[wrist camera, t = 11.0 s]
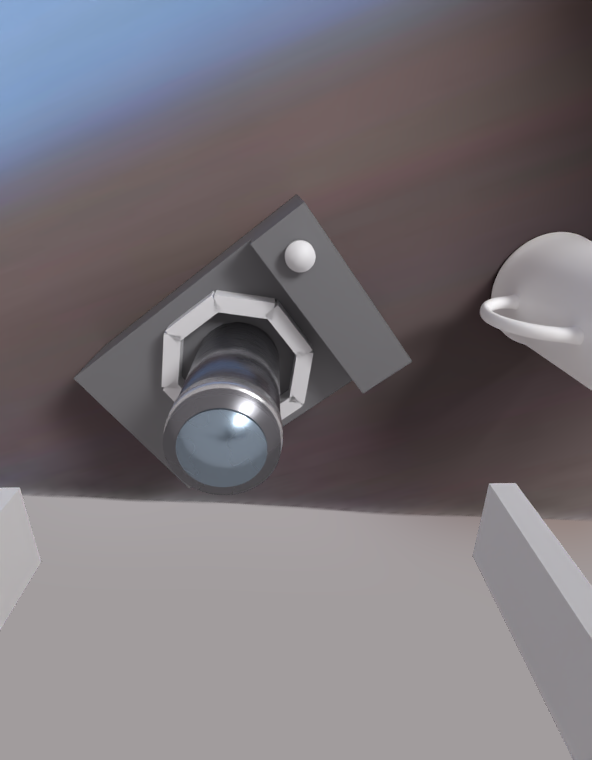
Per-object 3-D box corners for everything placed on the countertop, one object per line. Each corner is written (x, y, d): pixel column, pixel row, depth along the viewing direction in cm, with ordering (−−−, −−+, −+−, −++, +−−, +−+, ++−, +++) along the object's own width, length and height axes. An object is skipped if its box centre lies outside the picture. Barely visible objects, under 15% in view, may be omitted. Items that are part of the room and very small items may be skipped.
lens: (188, 325, 29) (146, 402, 19) (275, 316, 28) (275, 388, 19) (204, 403, 31) (173, 505, 22) (285, 394, 31) (289, 492, 22)
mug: (436, 335, 36) (508, 407, 25) (464, 220, 33) (561, 246, 22) (579, 348, 37) (708, 423, 26) (621, 237, 34) (789, 270, 23)
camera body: (296, 194, 31) (305, 202, 23) (381, 319, 35) (415, 365, 27) (104, 345, 35) (53, 399, 27) (200, 444, 39) (181, 517, 31)
